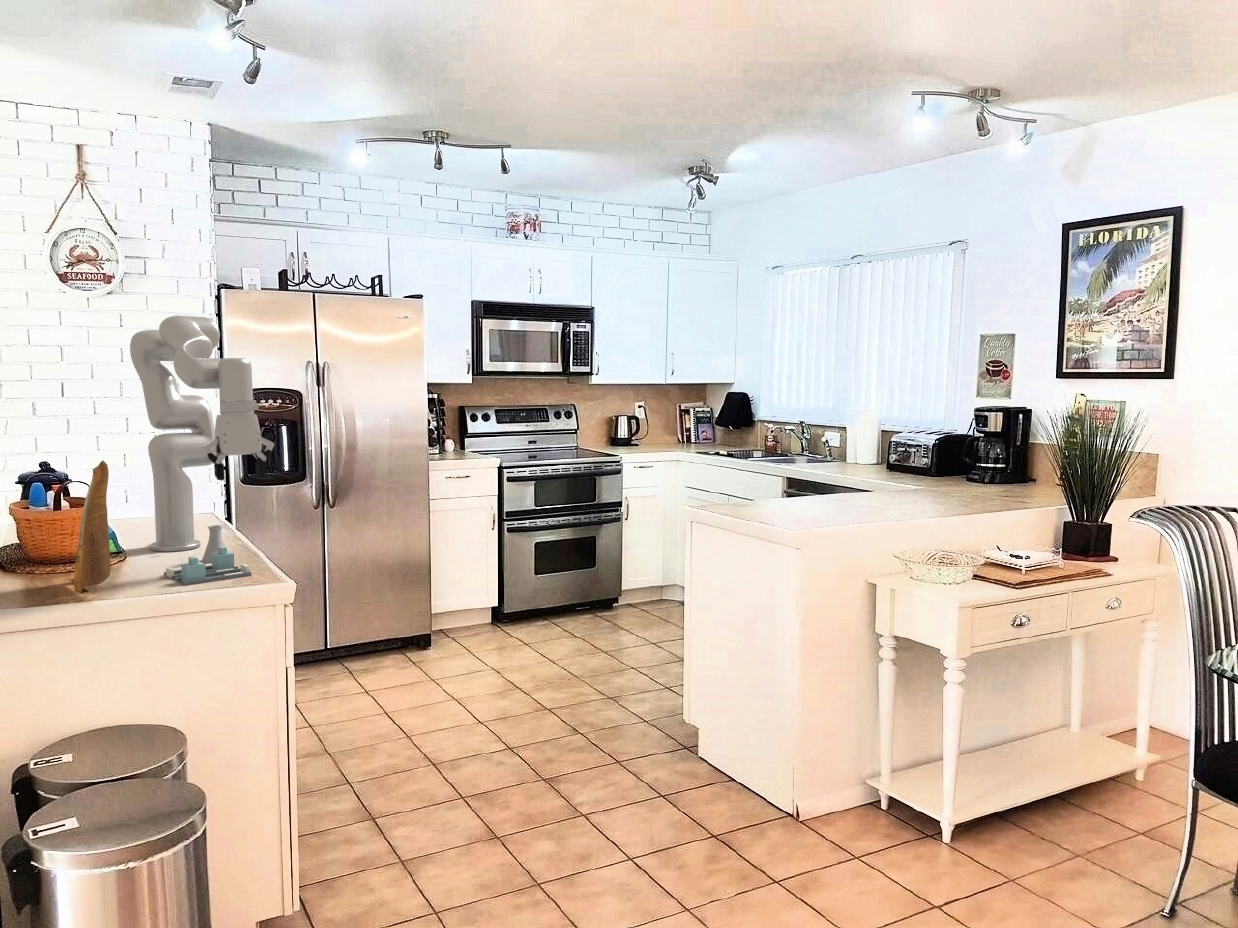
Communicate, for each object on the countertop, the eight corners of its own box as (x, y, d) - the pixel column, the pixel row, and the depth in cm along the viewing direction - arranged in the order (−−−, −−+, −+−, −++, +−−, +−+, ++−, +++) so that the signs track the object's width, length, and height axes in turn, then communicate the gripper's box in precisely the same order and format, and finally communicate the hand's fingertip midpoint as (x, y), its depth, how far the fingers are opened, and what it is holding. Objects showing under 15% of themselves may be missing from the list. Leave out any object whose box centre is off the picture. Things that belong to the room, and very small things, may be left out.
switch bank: (163, 579, 210) (162, 566, 210) (227, 570, 221) (227, 557, 220) (185, 590, 200) (185, 577, 200) (252, 580, 210) (251, 567, 210)
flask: (220, 568, 223) (219, 529, 222) (194, 566, 224) (193, 527, 223) (238, 562, 230) (237, 524, 229) (213, 561, 231) (211, 522, 230)
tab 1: (181, 581, 204) (181, 557, 203) (200, 578, 207) (199, 555, 206) (187, 583, 202) (186, 559, 201) (205, 581, 204) (205, 557, 204)
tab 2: (211, 569, 216) (211, 547, 215) (228, 567, 219) (227, 545, 218) (217, 571, 214) (216, 549, 213) (234, 569, 216) (233, 547, 216)
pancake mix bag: (123, 574, 214) (118, 459, 211) (101, 594, 196) (95, 467, 193) (91, 576, 212) (86, 459, 210) (66, 595, 194) (60, 468, 191)
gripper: (265, 408, 227) (268, 475, 229) (194, 409, 215) (198, 480, 216) (278, 408, 222) (281, 476, 223) (206, 409, 210) (210, 482, 211)
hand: (240, 478), depth 220 cm, fingers open, 9 cm apart
